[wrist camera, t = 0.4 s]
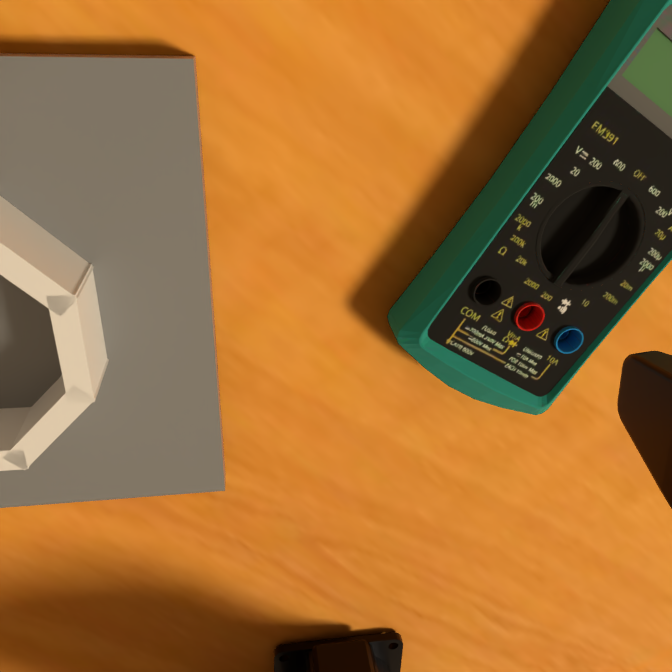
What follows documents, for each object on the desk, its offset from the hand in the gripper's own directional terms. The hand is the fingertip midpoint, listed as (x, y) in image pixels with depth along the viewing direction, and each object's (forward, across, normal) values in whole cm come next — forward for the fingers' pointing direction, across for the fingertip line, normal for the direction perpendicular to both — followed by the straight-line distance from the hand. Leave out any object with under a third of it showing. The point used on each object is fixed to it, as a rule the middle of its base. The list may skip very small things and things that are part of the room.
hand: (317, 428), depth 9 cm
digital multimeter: (+15, -11, +2) cm, 18 cm away
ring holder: (+14, +10, +3) cm, 18 cm away
